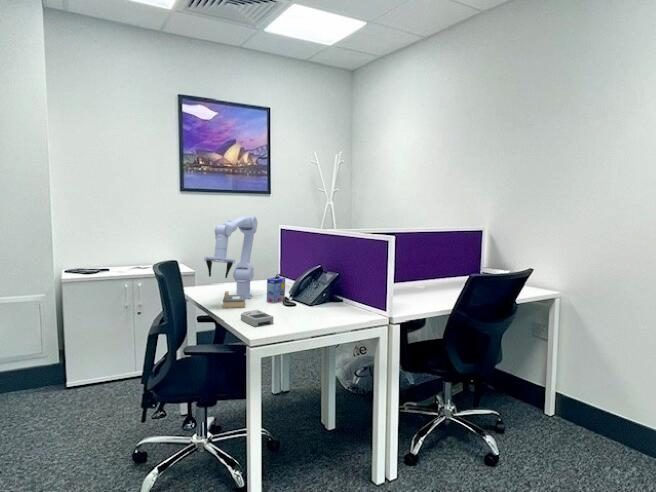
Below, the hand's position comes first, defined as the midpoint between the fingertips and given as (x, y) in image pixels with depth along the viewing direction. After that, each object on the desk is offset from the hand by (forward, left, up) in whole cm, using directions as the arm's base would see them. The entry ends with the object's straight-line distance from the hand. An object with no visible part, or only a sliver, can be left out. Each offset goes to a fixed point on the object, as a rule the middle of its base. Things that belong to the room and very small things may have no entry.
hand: (217, 277), depth 214 cm
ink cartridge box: (-12, +28, -15) cm, 34 cm away
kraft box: (-5, +7, -15) cm, 18 cm away
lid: (-5, +7, -12) cm, 15 cm away
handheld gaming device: (+27, +18, -16) cm, 36 cm away
